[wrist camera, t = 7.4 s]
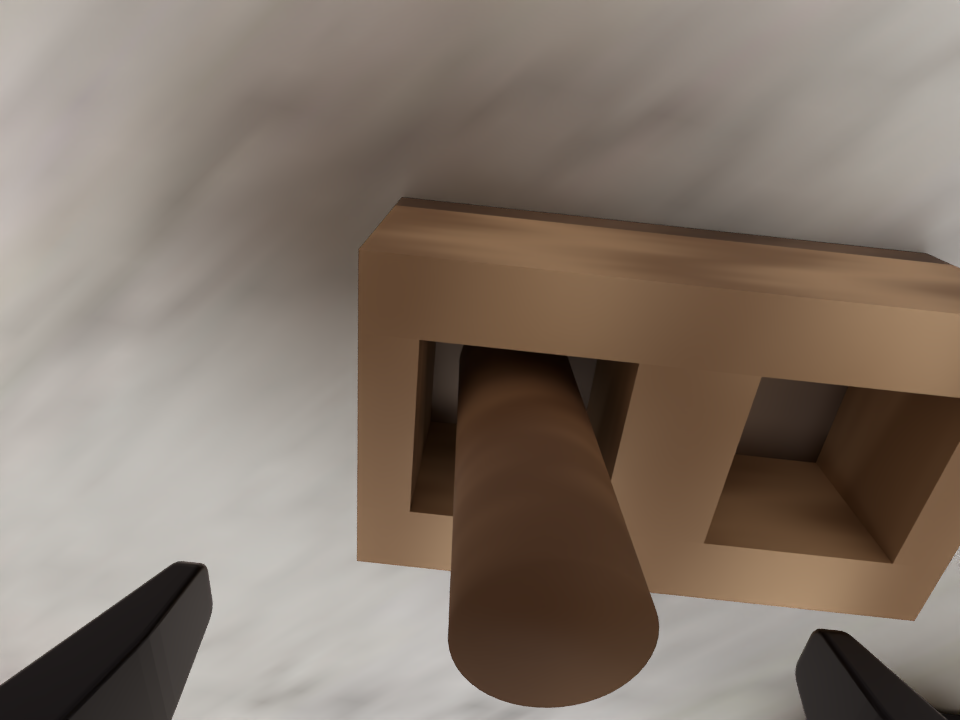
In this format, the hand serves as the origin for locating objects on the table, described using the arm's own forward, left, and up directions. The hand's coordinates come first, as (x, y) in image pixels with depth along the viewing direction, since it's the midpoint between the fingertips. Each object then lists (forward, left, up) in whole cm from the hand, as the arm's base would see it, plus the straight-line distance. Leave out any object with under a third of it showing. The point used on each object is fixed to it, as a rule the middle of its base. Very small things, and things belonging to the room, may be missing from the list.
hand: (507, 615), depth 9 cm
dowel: (0, 0, -9) cm, 9 cm away
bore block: (-4, 0, -10) cm, 10 cm away
